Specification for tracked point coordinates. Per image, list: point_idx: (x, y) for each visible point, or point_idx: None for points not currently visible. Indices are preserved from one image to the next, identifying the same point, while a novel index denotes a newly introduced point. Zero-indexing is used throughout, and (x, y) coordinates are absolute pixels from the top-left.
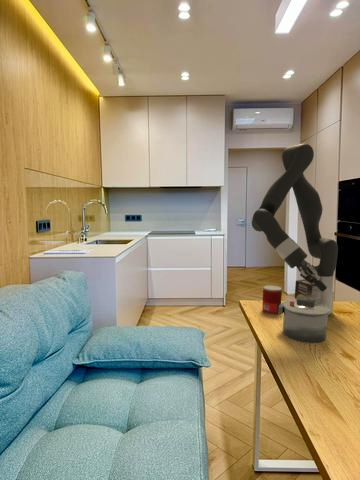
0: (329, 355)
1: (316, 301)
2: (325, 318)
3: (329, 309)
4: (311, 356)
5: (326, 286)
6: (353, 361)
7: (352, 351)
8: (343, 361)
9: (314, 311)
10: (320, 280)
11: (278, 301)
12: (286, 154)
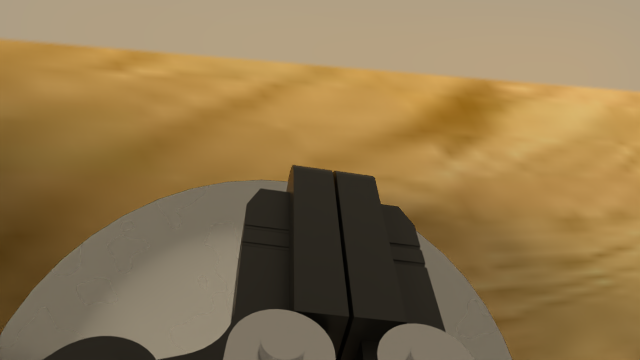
0: (512, 208)
1: (20, 346)
2: None
3: (275, 182)
4: (581, 304)
5: (298, 171)
6: (516, 90)
7: (386, 85)
8: (545, 138)
9: (467, 330)
10: (340, 297)
11: None
12: None
